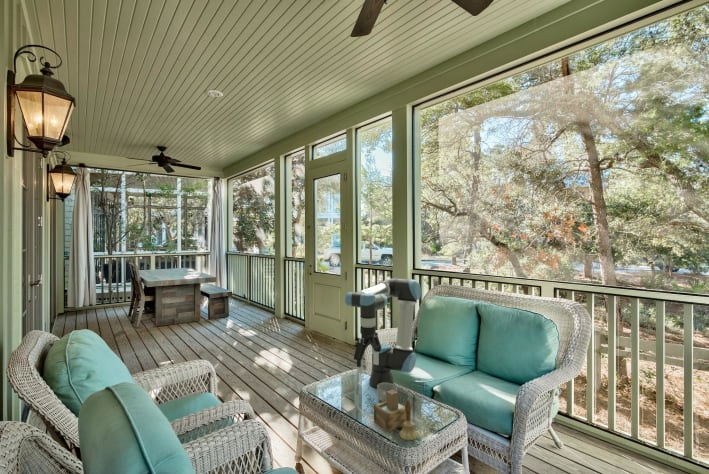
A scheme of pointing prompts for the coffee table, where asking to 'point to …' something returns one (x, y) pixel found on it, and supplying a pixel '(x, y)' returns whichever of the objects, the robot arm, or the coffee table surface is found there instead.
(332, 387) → the coffee table surface
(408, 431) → the hand bell
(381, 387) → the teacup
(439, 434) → the coffee table surface
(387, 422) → the open box
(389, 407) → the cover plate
